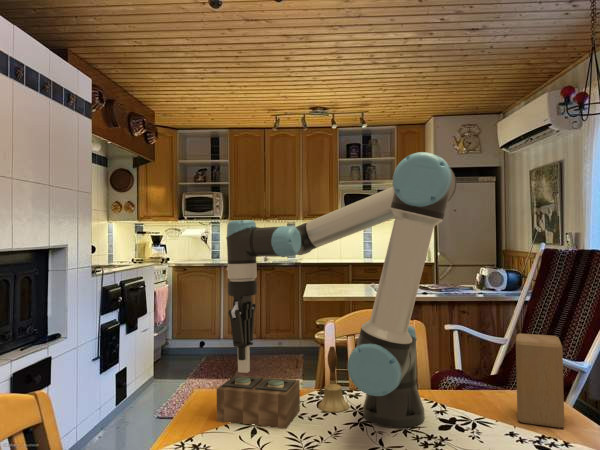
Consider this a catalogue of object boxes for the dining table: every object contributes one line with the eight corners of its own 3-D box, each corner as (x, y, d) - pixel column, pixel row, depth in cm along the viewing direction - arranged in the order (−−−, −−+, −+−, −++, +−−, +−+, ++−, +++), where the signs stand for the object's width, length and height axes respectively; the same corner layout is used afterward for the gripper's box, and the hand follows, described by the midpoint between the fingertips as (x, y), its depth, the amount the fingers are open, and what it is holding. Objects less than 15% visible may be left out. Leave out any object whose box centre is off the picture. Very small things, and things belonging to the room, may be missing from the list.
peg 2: (286, 413, 120) (285, 380, 120) (281, 419, 116) (281, 385, 116) (271, 411, 121) (271, 379, 121) (266, 417, 117) (265, 383, 117)
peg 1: (253, 410, 122) (252, 377, 122) (247, 415, 118) (247, 382, 119) (238, 408, 123) (238, 376, 124) (232, 414, 119) (232, 381, 120)
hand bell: (313, 410, 123) (312, 349, 124) (324, 400, 131) (323, 342, 131) (343, 414, 120) (343, 351, 121) (352, 403, 128) (352, 344, 128)
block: (561, 415, 118) (559, 335, 119) (564, 430, 109) (562, 343, 110) (517, 409, 122) (515, 332, 123) (517, 423, 113) (515, 340, 114)
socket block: (299, 410, 123) (299, 378, 123) (286, 428, 111) (285, 393, 112) (236, 404, 128) (235, 373, 128) (216, 421, 116) (216, 387, 116)
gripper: (238, 277, 129) (240, 364, 128) (218, 282, 116) (219, 378, 116) (264, 277, 127) (266, 365, 126) (246, 282, 114) (248, 379, 114)
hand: (243, 371), depth 121 cm, fingers closed
